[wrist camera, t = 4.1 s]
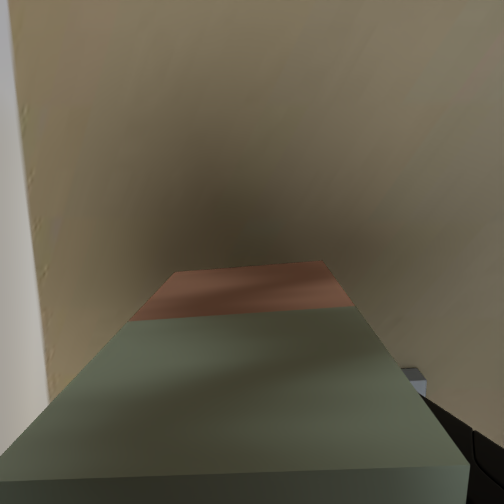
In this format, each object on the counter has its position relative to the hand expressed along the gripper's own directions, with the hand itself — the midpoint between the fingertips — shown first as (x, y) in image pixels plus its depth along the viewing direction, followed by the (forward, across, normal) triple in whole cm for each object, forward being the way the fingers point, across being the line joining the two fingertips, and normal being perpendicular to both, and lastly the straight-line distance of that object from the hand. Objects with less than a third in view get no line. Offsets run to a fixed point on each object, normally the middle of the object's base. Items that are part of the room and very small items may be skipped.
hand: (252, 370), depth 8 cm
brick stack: (+2, 0, 0) cm, 2 cm away
